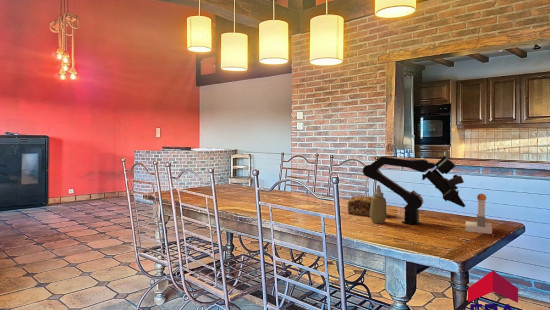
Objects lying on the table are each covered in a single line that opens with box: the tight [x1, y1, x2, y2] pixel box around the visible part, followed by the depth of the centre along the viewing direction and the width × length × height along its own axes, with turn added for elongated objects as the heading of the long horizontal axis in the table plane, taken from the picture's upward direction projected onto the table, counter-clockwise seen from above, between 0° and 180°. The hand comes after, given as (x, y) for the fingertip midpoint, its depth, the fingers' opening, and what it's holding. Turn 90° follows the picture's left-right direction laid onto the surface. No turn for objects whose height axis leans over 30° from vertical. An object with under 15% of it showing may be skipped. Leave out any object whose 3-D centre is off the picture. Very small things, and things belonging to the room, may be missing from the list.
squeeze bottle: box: [369, 185, 388, 224], centre depth 180 cm, size 8×8×18 cm
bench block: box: [465, 213, 493, 235], centre depth 165 cm, size 10×10×6 cm
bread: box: [347, 195, 386, 217], centre depth 199 cm, size 19×11×10 cm, turn 59°
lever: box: [476, 193, 487, 218], centre depth 164 cm, size 4×5×14 cm
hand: (464, 206), depth 167 cm, fingers closed
